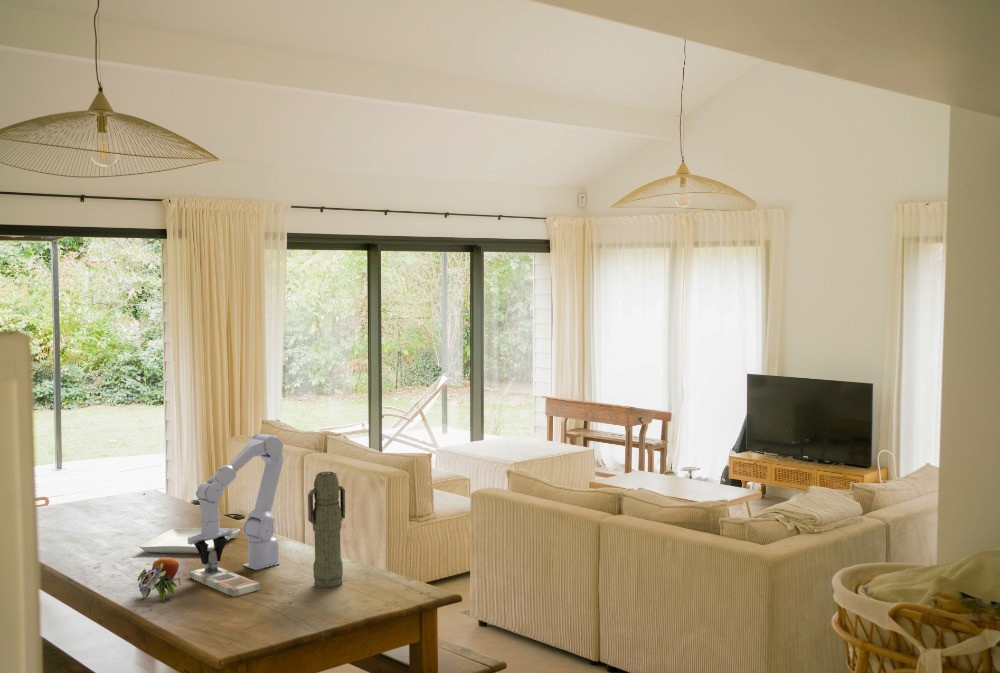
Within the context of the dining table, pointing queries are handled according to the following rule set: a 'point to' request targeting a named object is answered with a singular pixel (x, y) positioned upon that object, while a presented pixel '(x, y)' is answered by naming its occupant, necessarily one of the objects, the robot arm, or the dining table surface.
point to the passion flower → (156, 582)
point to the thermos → (327, 529)
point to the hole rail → (225, 581)
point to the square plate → (178, 541)
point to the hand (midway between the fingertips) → (211, 562)
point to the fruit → (167, 566)
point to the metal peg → (211, 561)
